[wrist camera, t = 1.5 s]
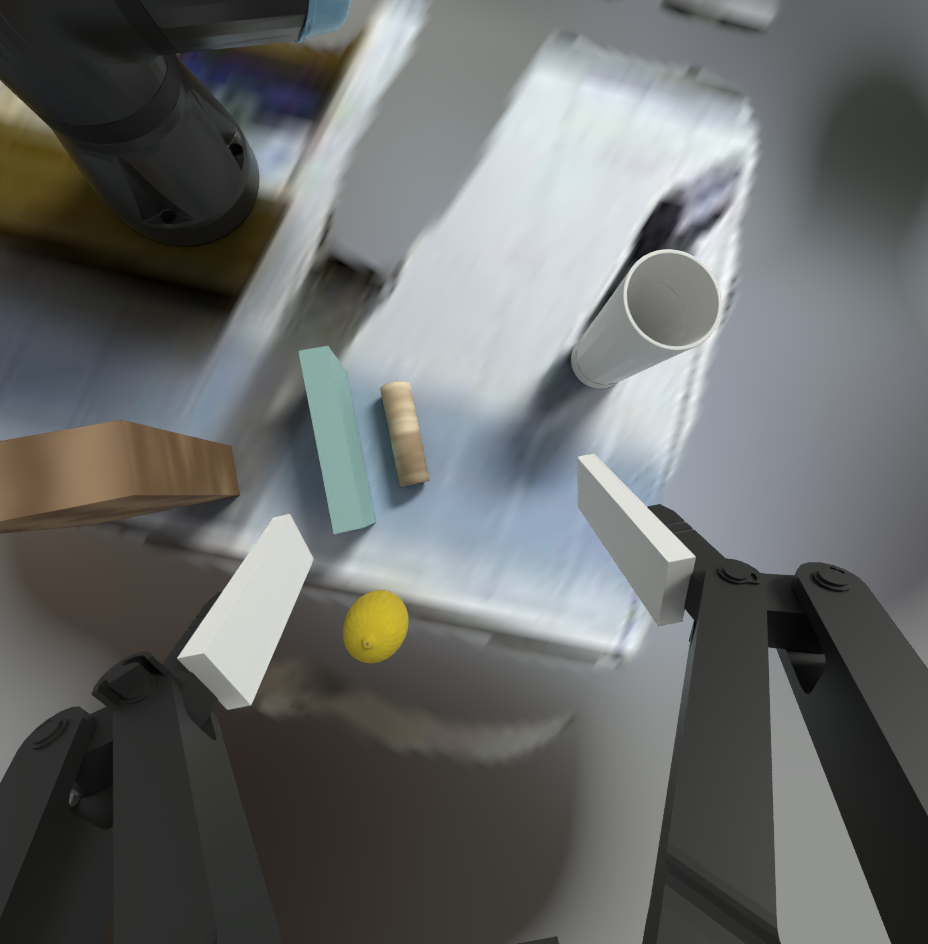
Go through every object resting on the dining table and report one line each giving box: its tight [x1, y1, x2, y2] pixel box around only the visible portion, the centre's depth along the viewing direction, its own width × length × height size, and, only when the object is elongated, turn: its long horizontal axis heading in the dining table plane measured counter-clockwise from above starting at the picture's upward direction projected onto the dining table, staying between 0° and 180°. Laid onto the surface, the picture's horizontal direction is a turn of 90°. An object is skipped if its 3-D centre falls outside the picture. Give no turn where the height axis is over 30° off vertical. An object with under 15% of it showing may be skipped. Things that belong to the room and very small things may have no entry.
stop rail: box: [299, 346, 376, 534], centre depth 32 cm, size 2×16×6 cm, turn 12°
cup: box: [571, 250, 722, 389], centre depth 32 cm, size 8×8×12 cm
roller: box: [380, 381, 430, 487], centre depth 34 cm, size 10×3×3 cm
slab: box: [0, 420, 240, 533], centre depth 27 cm, size 14×5×12 cm, turn 102°
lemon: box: [343, 590, 408, 663], centre depth 30 cm, size 6×6×8 cm
